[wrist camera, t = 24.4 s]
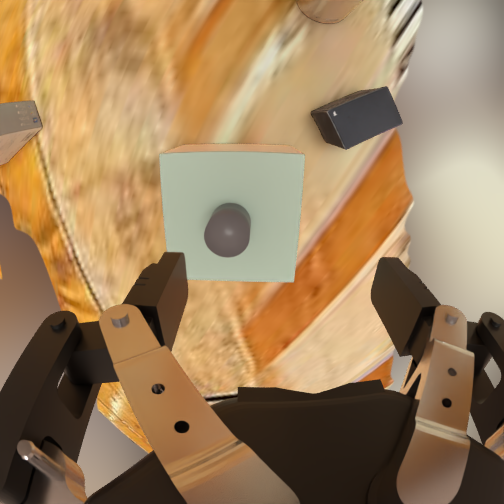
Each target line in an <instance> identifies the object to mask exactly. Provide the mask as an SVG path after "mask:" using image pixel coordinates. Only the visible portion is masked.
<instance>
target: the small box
mask: <svg viewBox="0 0 504 504" xmlns="http://www.w3.org/2000/svg"><path fill="white" fill-rule="evenodd" d="M311 115H312V117H313V118H314V121H315V122H316V124H317V126H318V128H319V130H320V132H321V135H322V136H323V138H324V139H325V141H326V143H330V144H332V145H335V146H338V147H341V148H343V149H345V150H347V149H349V148H351V147H353V146H355V145H357V144H359V143H361V142H363V141H366V140H368V139H370V138H372V137H374V136H376V135H379V134H381V133H383V132H385V131H388V130H390V129H392V128H394V127H397V126H399V125H401V124H403V123H402V119H401V117H400V114H399V112H398V110H397V107H396V105H395V103H394V100H393V98H392V96H391V93H390V91H389V89H388V87H387V86H385V87H382V88H377V89H369V90H361V91H358V92H355V93H353V94H350V95H348V96H345V97H343V98H341V99H338V100H336V101H334V102H331V103H329V104H327V105H324V106H322V107H320V108H318V109H316V110H314V111H311Z"/></svg>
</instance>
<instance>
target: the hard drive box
mask: <svg viewBox="0 0 504 504" xmlns="http://www.w3.org/2000/svg"><path fill="white" fill-rule="evenodd" d="M40 129H42V124H41V121H40V119H39V115H38V112H37V109H36V106H35V103H34V101H22V102H11V103H3V104H0V165H2V164H5V163H8V162H9V161H10V159H11V158H12V157H13V156H14V155H15V154H16V153H17V152H18V151H19V150H20V149H21V148H22V147H23V146H24V145H25V144H26V143H27V142H28V141H29V140H30V139H31V138H32V137H33V136H34V135H35V134H36V133H37V132H38V131H39V130H40Z"/></svg>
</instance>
